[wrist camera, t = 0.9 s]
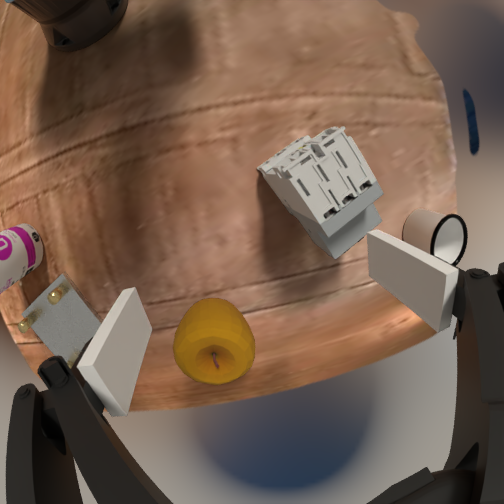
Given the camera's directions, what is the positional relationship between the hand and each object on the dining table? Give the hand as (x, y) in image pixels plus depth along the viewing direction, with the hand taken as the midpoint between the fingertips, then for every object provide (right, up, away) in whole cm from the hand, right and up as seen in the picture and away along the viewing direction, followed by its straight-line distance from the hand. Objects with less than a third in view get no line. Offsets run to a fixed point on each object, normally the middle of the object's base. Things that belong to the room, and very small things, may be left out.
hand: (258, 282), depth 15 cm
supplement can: (-39, +3, +21) cm, 44 cm away
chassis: (-34, -12, +26) cm, 45 cm away
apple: (-6, -8, +29) cm, 31 cm away
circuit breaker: (+8, +10, +25) cm, 28 cm away
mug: (+30, +4, +30) cm, 43 cm away
